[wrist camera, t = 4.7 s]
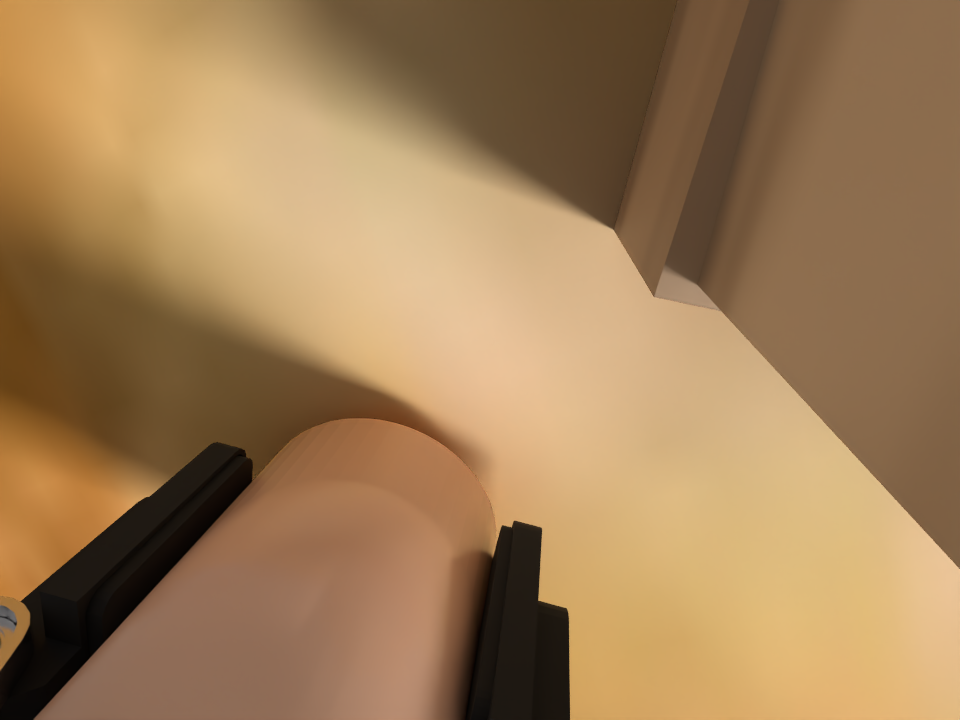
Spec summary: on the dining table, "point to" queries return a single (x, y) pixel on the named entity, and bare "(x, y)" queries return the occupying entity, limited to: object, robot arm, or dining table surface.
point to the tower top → (856, 236)
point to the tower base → (691, 141)
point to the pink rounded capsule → (313, 594)
